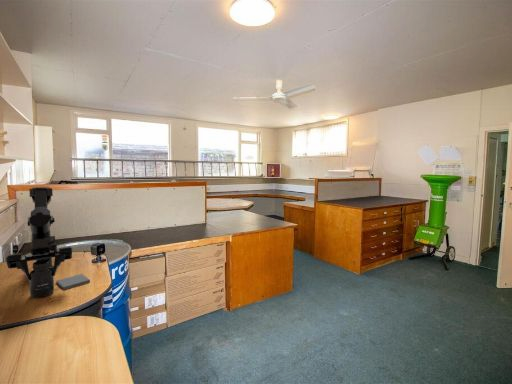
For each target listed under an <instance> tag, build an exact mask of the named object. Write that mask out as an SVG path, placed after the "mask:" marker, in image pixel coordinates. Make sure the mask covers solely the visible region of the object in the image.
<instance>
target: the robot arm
mask: <svg viewBox="0 0 512 384" xmlns="http://www.w3.org/2000/svg"><path fill="white" fill-rule="evenodd" d="M28 191H29V197H30V198H31V199H32V203H33V204H34V209H33V210H31V211H30V216H28V217H27V227H28V226H29V228H30V232H31V244H30V255H23V253H22V252H20V253H11V254H8V255H7V256H6V257H5V259H6V261H5V262H6V265H7V268H8V269H11V270H12V269H17V270H21V271H22V272H23V274H25V277H26V279H27V280H28V281H29V282H30V275H29V274H30V271H29V266H28V265H29V264H28V262H32V261H35V262H37V261H42V260H49V261H50V266H49V267H51V268H52V269H53V276H54V277H55V276H56V273H57V271H58V269H59V267H60V265H61V264H62V263H64V262H65V261H66V260H71V259H73V248H72V246H64V247H59V248H58V245H57V244H56V236H55V235H51V229H50V228H51V226H52V225H53V224H54V223H55V222H56V221H55V217H54V216H53V215H51V210H50V209H49V208H48V205H49V204H50V203H51V201H52V197H53V195H54V194H53V193H54V192H53V188H52V187H50V186H34V187H32V188H29V190H28ZM58 249H59V251H58ZM53 258H54V261H53ZM53 263H54V264H53Z"/></svg>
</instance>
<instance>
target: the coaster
mask: <svg viewBox="0 0 512 384" xmlns="http://www.w3.org/2000/svg"><path fill="white" fill-rule="evenodd" d="M55 282H56V284H57V285H58V286H59V287H60V288H61V289H62V290H68V289H71V288H74V287H77V286H81V285H84V284H88V283H90V282H91V280H90V278H88V277H87V276H86V275H85V274H83V273H80V274H75V275H71V276H68V277H65V278H61V279H56V281H55Z"/></svg>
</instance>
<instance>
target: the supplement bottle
mask: <svg viewBox="0 0 512 384" xmlns="http://www.w3.org/2000/svg"><path fill="white" fill-rule="evenodd" d="M49 266H50V261H49V260H42V261H37V262H36V261H34V262H33V263H32V270H31V271H29V275H30V281H29V296H30V297H31V298H34V299H37V298H45V297H47V296H50V295H51V294H53V293H54V291H55V287H54V286H55V283H54V282H55V280H54V278H55V276H53V269H52V268H51V267H49Z"/></svg>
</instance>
